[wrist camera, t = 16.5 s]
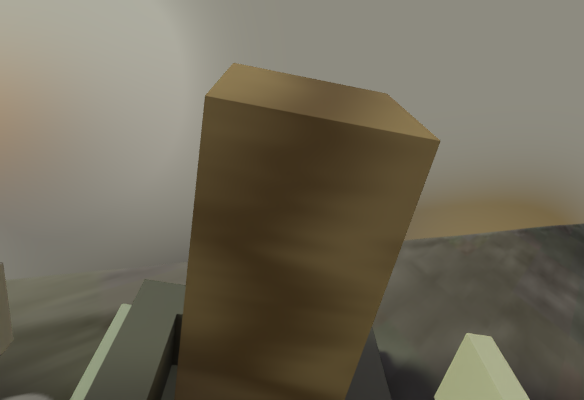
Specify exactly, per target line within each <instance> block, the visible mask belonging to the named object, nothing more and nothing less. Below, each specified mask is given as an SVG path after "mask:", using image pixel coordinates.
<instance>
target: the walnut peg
mask: <svg viewBox="0 0 584 400" xmlns="http://www.w3.org/2000/svg"><path fill="white" fill-rule="evenodd" d="M439 144H440V140H439V139H438V138H436V136H434V135H433V134H432V133H431V132H430V131H429V130H428V129H426V128H425V127H424V126H423V125H422V124H421V123H419V122H418V121H417V120H416V119H415V118H414V117H413V116H412V115H410V114H409V113H408V112H407V111H406V110H405V109H404V108H402V107H401V106H400V105H399V104H398V103H397V102H396V101H395V100H393V99H392V98H391V97H390V96H389V95H388V94H385V93H381V92H376V91H371V90H366V89H361V88H355V87H351V86H346V85H341V84H336V83H331V82H326V81H321V80H316V79H311V78H306V77H301V76H296V75H291V74H286V73H281V72H276V71H271V70H266V69H262V68H256V67H252V66H246V65H242V64H236V63H233V64H232V65H231V67H230V68H229V69H228V70H227V71H226V72H225V73H224V75H223V76H222V77H221V78H220V79H219V80H218V81H217V83H216V84H215V85H214V86H213V87H212V88H211V90H210V91H209V92H208V93H207V94H206V95H205V102H204V113H203V122H202V132H201V141H200V151H199V161H198V171H197V181H196V190H195V201H194V210H193V221H192V230H191V239H190V250H189V259H188V269H187V279H186V289H185V298H184V308H183V318H182V328H181V338H180V347H179V357H178V367H177V377H176V387H175V397H174V400H345V397H346V395H347V392H348V389H349V386H350V384H351V381H352V378H353V376H354V373H355V370H356V368H357V365H358V362H359V360H360V357H361V354H362V351H363V349H364V346H365V343H366V341H367V338H368V335H369V333H370V330H371V327H372V324H373V322H374V319H375V316H376V314H377V311H378V308H379V306H380V303H381V300H382V297H383V295H384V292H385V289H386V287H387V284H388V281H389V279H390V276H391V273H392V270H393V268H394V265H395V262H396V260H397V257H398V254H399V252H400V249H401V246H402V243H403V241H404V238H405V235H406V233H407V230H408V227H409V225H410V222H411V219H412V216H413V214H414V211H415V208H416V206H417V203H418V200H419V198H420V195H421V192H422V190H423V187H424V184H425V181H426V179H427V176H428V173H429V170H430V168H431V165H432V162H433V160H434V157H435V154H436V152H437V149H438V146H439Z"/></svg>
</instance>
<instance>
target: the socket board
mask: <svg viewBox="0 0 584 400" xmlns="http://www.w3.org/2000/svg"><path fill="white" fill-rule="evenodd" d="M185 289H186V285H181V284H174V283H167V282H160V281H153V280H147V279H145V280H144V282H143V284H142V286H141V288H140V290H139V292H138V294H137V296H136V298H135V300H134V302H133V304H132V305H128V304H122V305H121V307H120V309H119V310H118V312H117V314H116V316H115V318H114V320H113V321H112V323H111V325H110V327H109V329H108V331H107V333H106V334H105V336H104V338H103V340H102V342H101V344H100V345H99V347H98V349H97V351H96V353H95V355H94V356H93V358H92V360H91V362H90V364H89V366H88V368H87V369H86V371H85V373H84V375H83V377H82V379H81V380H80V382H79V384H78V386H77V388H76V390H75V391H74V393H73V395H72V397H71V399H70V400H174V397H175V387H176V377H177V367H178V357H179V347H180V338H181V328H182V318H183V308H184V298H185ZM345 400H392V399H391V395H390V391H389V387H388V384H387V380H386V376H385V373H384V369H383V365H382V361H381V358H380V354H379V350H378V347H377V343H376V339H375V336H374V332H373V328H372V327H371V330H370V333H369V335H368V338H367V341H366V343H365V346H364V349H363V351H362V354H361V357H360V360H359V362H358V365H357V368H356V370H355V373H354V376H353V378H352V381H351V384H350V386H349V389H348V392H347V395H346V397H345Z"/></svg>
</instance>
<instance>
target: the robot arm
mask: <svg viewBox="0 0 584 400" xmlns="http://www.w3.org/2000/svg"><path fill="white" fill-rule="evenodd" d="M12 341H13V333H12V326H11V318H10V311H9V303H8V296H7V289H6V281H5V274H4V266H3V263H2V262H0V356H1V354H2V353H3V352H4V351H5V350H6V348H7V347H8V346H9V345H10V344H11V342H12ZM434 398H435V400H530V399H529V398H528V396H527V394H526V393H525V391H524V389H523V388H522V386H521V385H520V383H519V381H518V380H517V378H516V376H515V375H514V373H513V371H512V370H511V368H510V367H509V365H508V363H507V362H506V360H505V358H504V357H503V355H502V353H501V352H500V350H499V349H498V347H497V345H496V344H495V342H494V340H493V339H492V337H490V336H483V335H476V334H470V333H466V335H465V337H464V339H463V341H462V343H461V345H460V347H459V349H458V351H457V353H456V355H455V357H454V359H453V361H452V363H451V365H450V367H449V369H448V371H447V373H446V374H445V376H444V378H443V380H442V382H441V384H440V386H439V388H438V390H437V392H436V394H435V396H434Z"/></svg>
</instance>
